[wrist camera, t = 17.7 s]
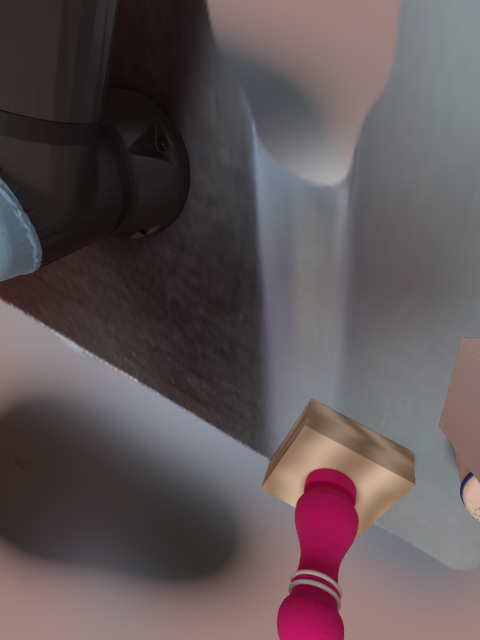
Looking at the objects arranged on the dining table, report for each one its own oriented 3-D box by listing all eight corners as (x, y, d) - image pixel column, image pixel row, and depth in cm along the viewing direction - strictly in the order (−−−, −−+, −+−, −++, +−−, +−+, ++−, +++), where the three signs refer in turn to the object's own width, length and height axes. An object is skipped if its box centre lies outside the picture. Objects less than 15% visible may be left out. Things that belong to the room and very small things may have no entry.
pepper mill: (364, 472, 46) (351, 680, 29) (357, 513, 49) (342, 719, 32) (303, 459, 48) (259, 644, 31) (300, 498, 51) (259, 685, 34)
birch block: (270, 461, 57) (260, 488, 53) (311, 398, 49) (304, 425, 45) (356, 508, 56) (354, 540, 52) (413, 452, 48) (415, 484, 44)
